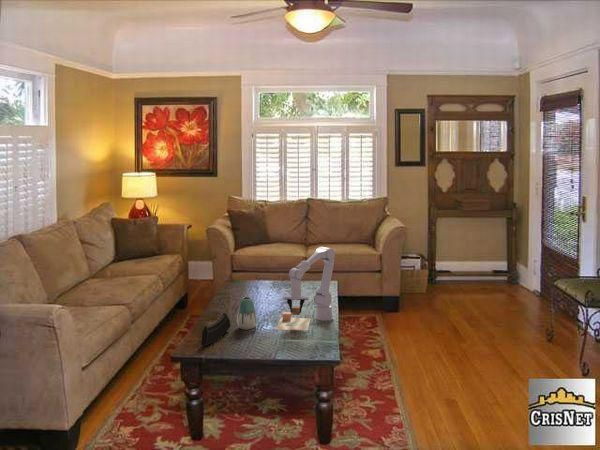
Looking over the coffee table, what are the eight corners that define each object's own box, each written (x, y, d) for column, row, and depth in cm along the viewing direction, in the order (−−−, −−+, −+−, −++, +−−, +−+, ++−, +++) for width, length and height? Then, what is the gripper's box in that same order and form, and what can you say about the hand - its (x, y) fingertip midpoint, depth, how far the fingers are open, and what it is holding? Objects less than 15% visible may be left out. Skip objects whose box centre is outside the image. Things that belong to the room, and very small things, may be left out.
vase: (254, 331, 343) (253, 300, 341) (234, 330, 346) (233, 299, 343) (259, 325, 355) (259, 295, 352) (240, 324, 357) (239, 294, 354)
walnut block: (300, 312, 352) (300, 306, 352) (299, 314, 348) (299, 308, 347) (292, 312, 353) (292, 305, 352) (291, 314, 348) (291, 307, 348)
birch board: (310, 319, 366) (310, 318, 366) (307, 332, 343) (307, 330, 342) (281, 319, 368) (281, 317, 368) (275, 331, 344) (275, 329, 344)
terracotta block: (291, 318, 366) (291, 312, 365) (290, 320, 361) (290, 314, 361) (283, 318, 366) (283, 311, 366) (282, 320, 362) (282, 313, 361)
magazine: (204, 332, 313) (227, 302, 339) (198, 331, 314) (221, 301, 340) (209, 360, 320) (231, 328, 346) (203, 359, 321) (225, 327, 347)
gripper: (282, 290, 345) (282, 313, 347) (308, 291, 344) (308, 314, 346) (283, 287, 352) (284, 310, 354) (309, 288, 351) (308, 311, 353)
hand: (295, 312), depth 350 cm, fingers closed on walnut block, 5 cm apart
